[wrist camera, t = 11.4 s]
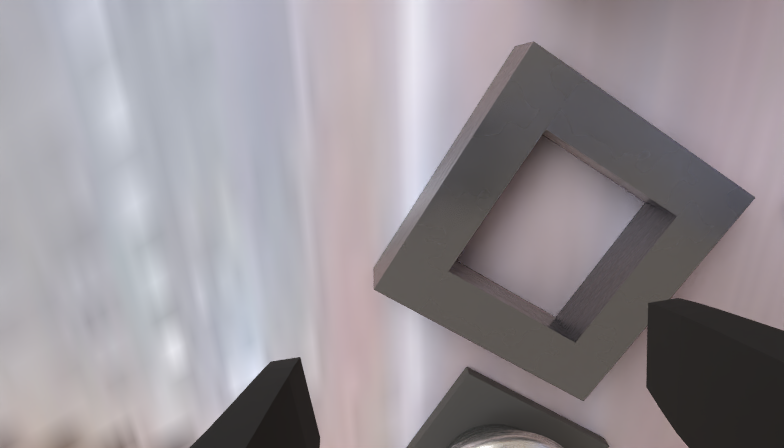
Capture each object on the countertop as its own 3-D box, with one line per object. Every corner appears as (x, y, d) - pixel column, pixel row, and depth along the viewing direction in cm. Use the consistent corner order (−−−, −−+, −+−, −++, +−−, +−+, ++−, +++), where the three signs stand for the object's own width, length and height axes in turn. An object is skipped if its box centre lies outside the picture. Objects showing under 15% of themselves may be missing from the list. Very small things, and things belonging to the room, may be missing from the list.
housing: (715, 185, 18) (755, 197, 16) (563, 371, 21) (583, 401, 19) (515, 46, 16) (533, 41, 15) (373, 268, 19) (373, 289, 17)
